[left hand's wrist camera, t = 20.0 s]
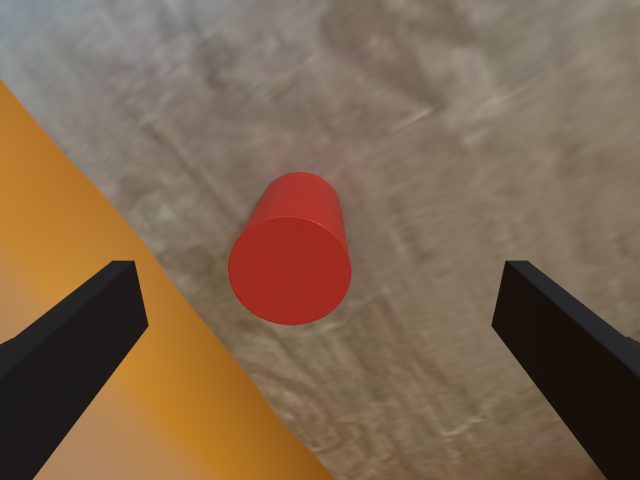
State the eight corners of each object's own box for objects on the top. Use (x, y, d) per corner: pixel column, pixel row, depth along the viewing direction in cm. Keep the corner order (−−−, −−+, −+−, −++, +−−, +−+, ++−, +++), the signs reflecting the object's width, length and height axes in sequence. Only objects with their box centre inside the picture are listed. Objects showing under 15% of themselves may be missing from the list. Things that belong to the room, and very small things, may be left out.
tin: (260, 246, 30) (229, 321, 20) (260, 169, 27) (225, 211, 17) (336, 251, 30) (345, 328, 20) (344, 175, 28) (357, 220, 18)
